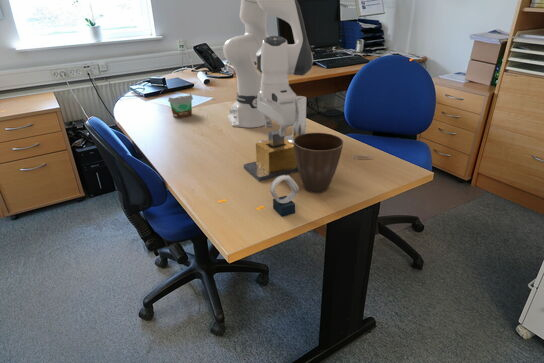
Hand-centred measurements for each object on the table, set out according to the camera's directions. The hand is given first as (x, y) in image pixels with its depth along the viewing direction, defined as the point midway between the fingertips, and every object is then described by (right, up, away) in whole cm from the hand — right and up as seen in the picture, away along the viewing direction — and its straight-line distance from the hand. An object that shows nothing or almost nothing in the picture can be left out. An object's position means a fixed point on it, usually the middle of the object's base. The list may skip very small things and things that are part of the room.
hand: (274, 131), depth 132 cm
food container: (-44, +15, +61) cm, 77 cm away
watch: (+3, -26, -19) cm, 32 cm away
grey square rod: (+1, -11, +5) cm, 12 cm away
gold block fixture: (+2, -11, +9) cm, 14 cm away
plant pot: (+13, -19, -7) cm, 24 cm away
